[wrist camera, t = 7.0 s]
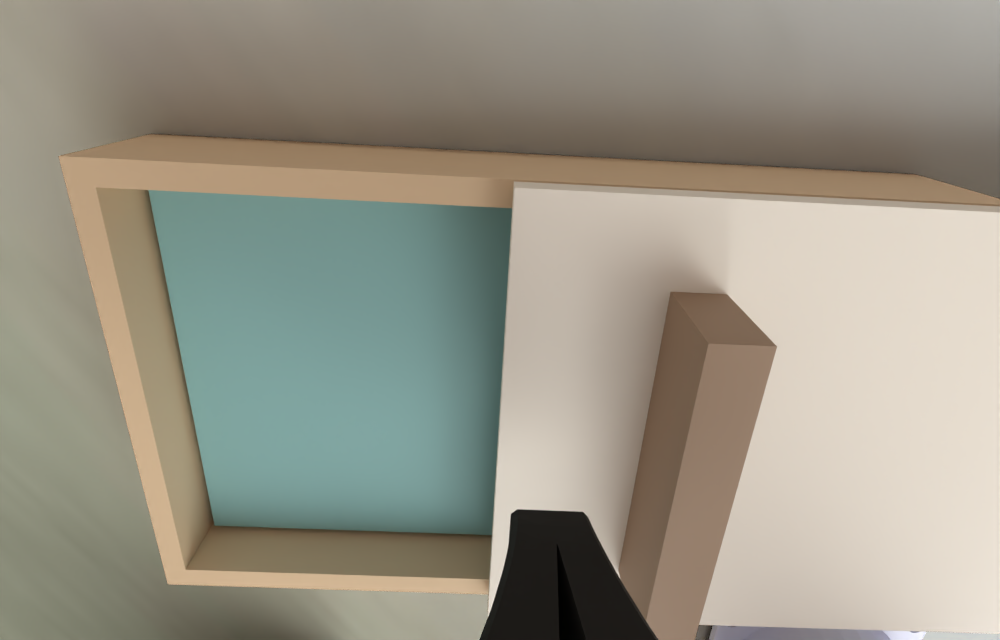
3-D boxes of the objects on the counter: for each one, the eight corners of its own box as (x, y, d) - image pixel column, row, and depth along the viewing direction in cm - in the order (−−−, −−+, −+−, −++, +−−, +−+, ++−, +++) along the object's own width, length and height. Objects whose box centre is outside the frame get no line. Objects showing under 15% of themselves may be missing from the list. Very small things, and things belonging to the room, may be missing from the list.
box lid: (1157, 620, 17) (1280, 726, 15) (487, 600, 17) (486, 705, 14) (1452, 229, 12) (1719, 279, 10) (514, 181, 12) (519, 220, 9)
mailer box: (796, 520, 21) (851, 605, 17) (220, 499, 20) (167, 584, 17) (915, 173, 16) (1023, 205, 12) (151, 133, 15) (58, 156, 12)
